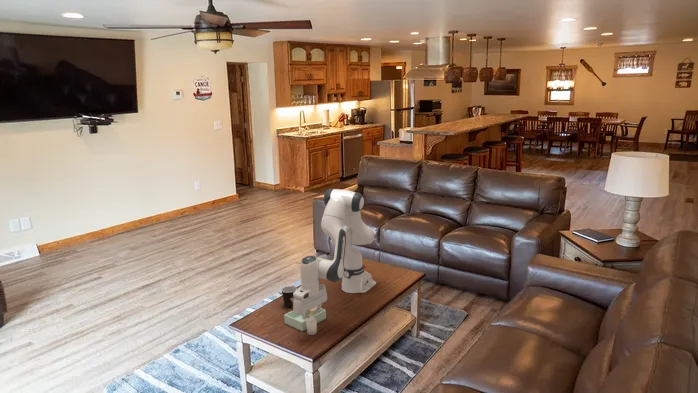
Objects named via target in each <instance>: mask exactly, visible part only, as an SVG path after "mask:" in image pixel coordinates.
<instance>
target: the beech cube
mask: <svg viewBox="0 0 698 393" xmlns="http://www.w3.org/2000/svg"><path fill="white" fill-rule="evenodd" d="M316 308H317V307H313V308H311V309H309V310H307V311H305V315H306V316H307V317H306V318H310V317H312V316H314V315H316V314H318V313H317V312H316Z"/></svg>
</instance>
